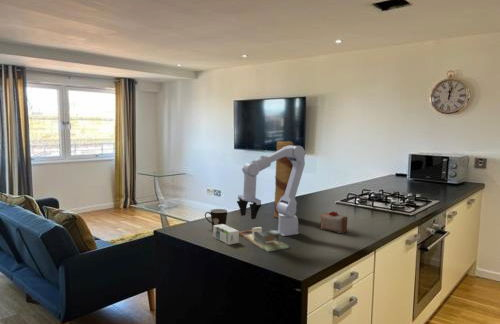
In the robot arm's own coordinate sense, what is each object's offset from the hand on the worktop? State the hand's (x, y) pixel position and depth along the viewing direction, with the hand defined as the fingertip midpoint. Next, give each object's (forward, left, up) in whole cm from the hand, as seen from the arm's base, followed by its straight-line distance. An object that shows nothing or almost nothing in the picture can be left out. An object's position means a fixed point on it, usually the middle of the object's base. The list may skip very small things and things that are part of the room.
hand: (248, 217), depth 169 cm
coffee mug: (+7, -20, -11) cm, 24 cm away
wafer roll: (-39, -28, -11) cm, 49 cm away
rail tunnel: (-4, +6, -10) cm, 12 cm away
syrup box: (+10, +5, -8) cm, 13 cm away
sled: (-4, +7, -9) cm, 12 cm away
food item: (-47, +7, -11) cm, 49 cm away
